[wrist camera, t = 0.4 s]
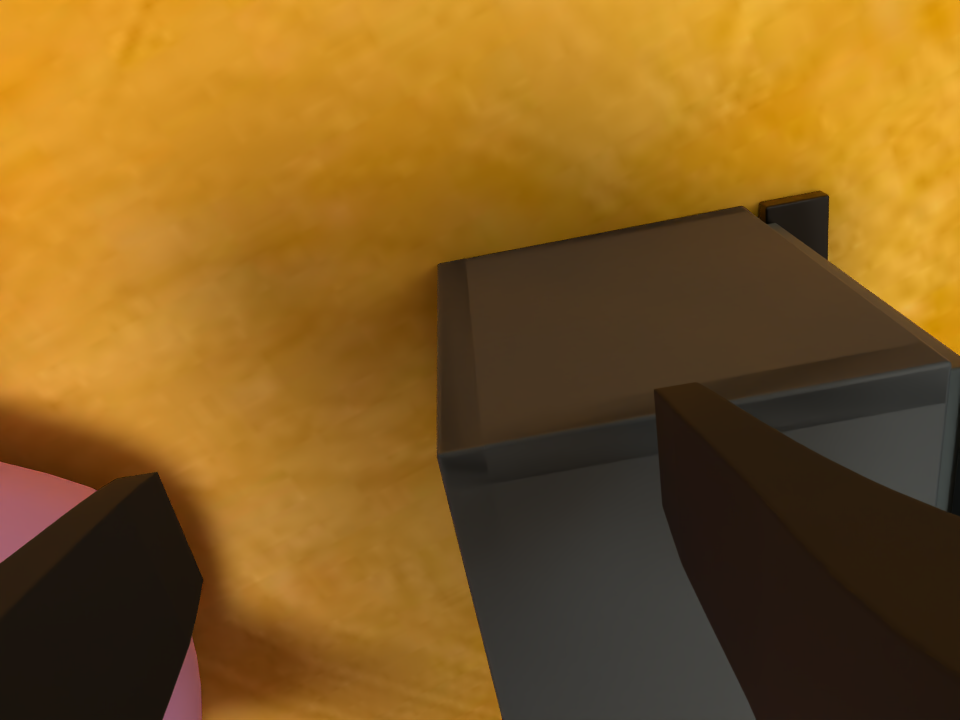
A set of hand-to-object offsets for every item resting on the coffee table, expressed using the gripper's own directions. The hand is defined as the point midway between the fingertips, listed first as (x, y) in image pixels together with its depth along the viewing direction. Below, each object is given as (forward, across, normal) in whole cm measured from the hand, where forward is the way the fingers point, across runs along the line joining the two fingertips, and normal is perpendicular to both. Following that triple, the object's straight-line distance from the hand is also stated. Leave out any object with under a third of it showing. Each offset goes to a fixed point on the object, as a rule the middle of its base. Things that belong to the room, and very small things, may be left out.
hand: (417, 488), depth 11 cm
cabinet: (+10, -4, +7) cm, 13 cm away
